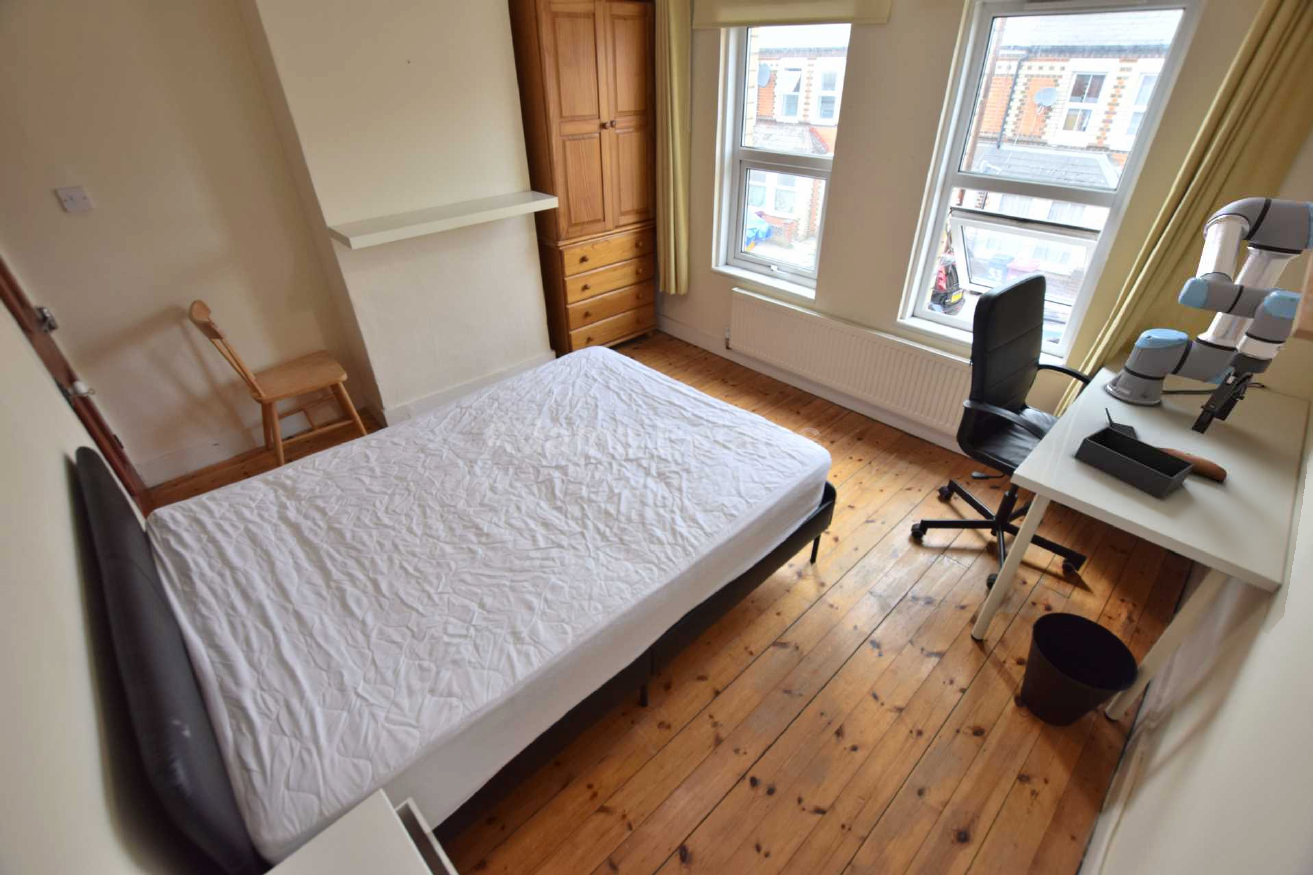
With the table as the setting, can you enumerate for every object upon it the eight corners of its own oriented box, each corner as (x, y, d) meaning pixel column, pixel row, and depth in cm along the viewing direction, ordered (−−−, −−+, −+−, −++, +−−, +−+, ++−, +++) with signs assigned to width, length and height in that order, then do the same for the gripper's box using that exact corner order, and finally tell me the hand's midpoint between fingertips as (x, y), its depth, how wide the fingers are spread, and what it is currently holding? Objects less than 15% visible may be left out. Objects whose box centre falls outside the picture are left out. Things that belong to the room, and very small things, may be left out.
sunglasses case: (1223, 469, 163) (1234, 458, 157) (1215, 489, 161) (1226, 478, 156) (1146, 445, 172) (1154, 434, 167) (1138, 464, 171) (1146, 453, 165)
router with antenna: (1148, 442, 172) (1136, 414, 170) (1120, 452, 175) (1107, 424, 173) (1132, 427, 182) (1120, 401, 180) (1106, 437, 185) (1094, 411, 183)
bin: (1097, 444, 173) (1107, 426, 170) (1182, 483, 158) (1195, 464, 154) (1074, 457, 168) (1083, 438, 164) (1160, 499, 152) (1173, 479, 148)
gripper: (1253, 370, 137) (1205, 444, 149) (1291, 349, 149) (1243, 419, 160) (1215, 358, 143) (1171, 430, 154) (1254, 339, 154) (1210, 407, 166)
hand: (1208, 425), depth 157 cm, fingers open, 13 cm apart
